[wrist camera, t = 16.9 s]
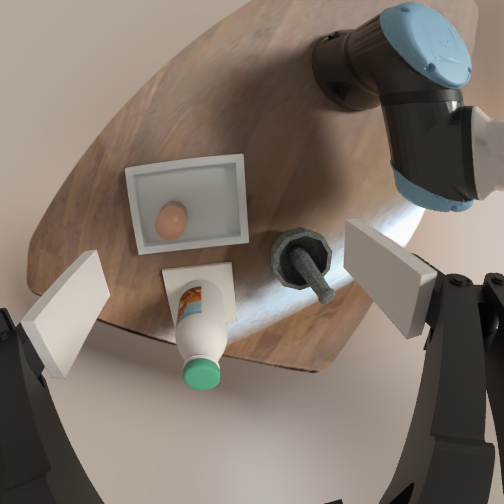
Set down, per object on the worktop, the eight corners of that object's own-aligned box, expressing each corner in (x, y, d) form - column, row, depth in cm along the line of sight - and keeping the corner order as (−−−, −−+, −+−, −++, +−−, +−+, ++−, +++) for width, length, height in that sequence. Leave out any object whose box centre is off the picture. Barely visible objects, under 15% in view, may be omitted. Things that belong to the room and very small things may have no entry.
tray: (241, 153, 43) (243, 154, 41) (247, 237, 48) (249, 242, 46) (129, 167, 41) (124, 168, 39) (141, 249, 46) (138, 254, 44)
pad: (231, 261, 49) (231, 263, 49) (236, 318, 54) (237, 321, 53) (162, 268, 48) (162, 270, 47) (175, 325, 52) (174, 327, 52)
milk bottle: (218, 274, 49) (226, 351, 30) (227, 311, 52) (238, 393, 33) (175, 283, 48) (161, 362, 30) (186, 318, 51) (181, 402, 33)
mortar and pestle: (253, 240, 48) (267, 270, 37) (298, 208, 48) (325, 229, 37) (287, 286, 53) (307, 323, 42) (328, 257, 52) (358, 287, 41)
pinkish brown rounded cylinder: (192, 216, 45) (191, 228, 40) (171, 232, 45) (168, 245, 41) (175, 195, 43) (172, 205, 38) (154, 212, 43) (148, 223, 39)
